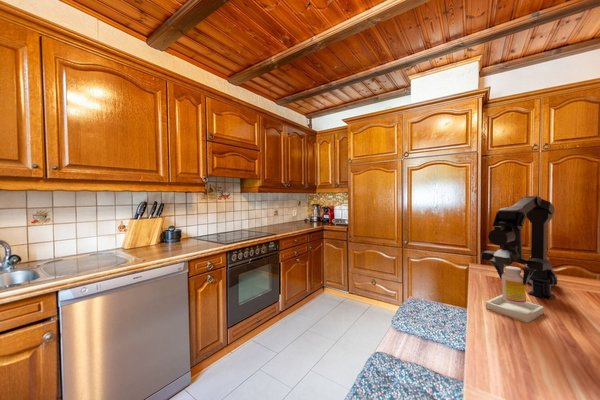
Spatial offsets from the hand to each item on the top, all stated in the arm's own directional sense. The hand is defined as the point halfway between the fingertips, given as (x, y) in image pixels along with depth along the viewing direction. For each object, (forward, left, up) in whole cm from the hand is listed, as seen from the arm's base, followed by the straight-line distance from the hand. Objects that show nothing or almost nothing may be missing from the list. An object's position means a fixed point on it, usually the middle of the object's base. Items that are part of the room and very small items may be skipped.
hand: (513, 281), depth 88 cm
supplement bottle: (0, 0, -8) cm, 8 cm away
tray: (0, 0, -11) cm, 11 cm away
